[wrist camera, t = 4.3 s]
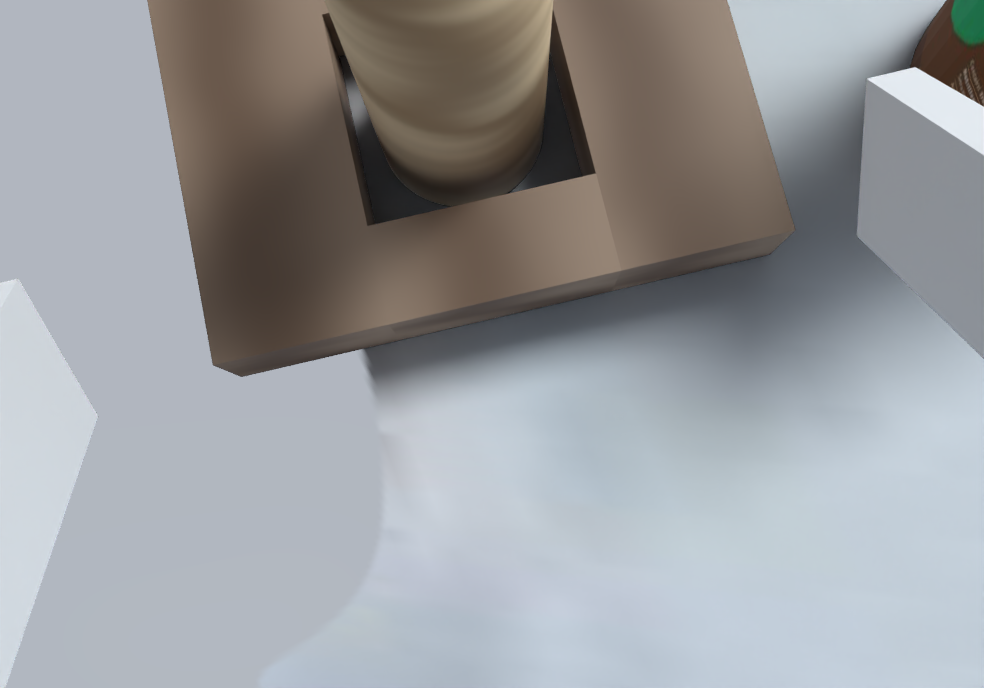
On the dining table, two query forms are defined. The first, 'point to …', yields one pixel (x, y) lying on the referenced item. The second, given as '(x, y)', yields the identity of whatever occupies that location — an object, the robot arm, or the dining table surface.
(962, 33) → the food container
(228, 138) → the dowel block
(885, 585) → the dining table surface
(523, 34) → the dowel
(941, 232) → the robot arm
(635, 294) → the dining table surface
